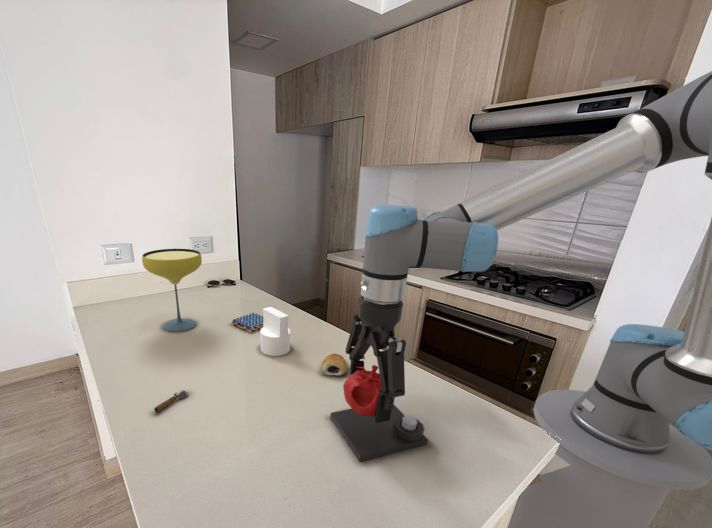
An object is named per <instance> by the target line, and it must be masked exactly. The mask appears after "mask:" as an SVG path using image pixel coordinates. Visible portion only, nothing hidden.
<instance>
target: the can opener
mask: <svg viewBox="0 0 712 528" xmlns="http://www.w3.org/2000/svg"><path fill="white" fill-rule="evenodd" d="M188 394H189V391H187V392H186V391H185V390H183V389H182V390H181V391H180V393H178V392H175V393H174V394H173V396H172V397H169V398H168V399H167V400H165V401H163V402H162V403H159V404H158V405H157V406H155V407H154V412H155V413H158V412H160V411H161V410H164V409H165V408H166V407H167V406H169V405H171V403H173V402H175V401H176V400H177V399H183V398H185V397H187V396H188Z"/></svg>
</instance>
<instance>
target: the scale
mask: <svg viewBox="0 0 712 528" xmlns="http://www.w3.org/2000/svg"><path fill="white" fill-rule="evenodd" d="M404 416H406V415H405V414H404V413H403V412H402V411H401V410H400V409H399V408H398V407H397V406H396V405H395V404H394V406H393V409H391V415H390V420H389V421H384V422H380V423H377V422H376V421H375V416H362V415H360V414H358V413H356V412H355V411H353V409H352V408H348V409H342V410H338V411H332V412H330V416H329V418H330V420H331V422H332V424H334V426H335V427H336V429H337V430H338V432H339V434H340V435H341V436H342V438H343V440H344V441H345V442H346V444H347V446H348V447H349V449H350V450H351V452H352V453H353V454H354V456H355V457H356V459H357V460H358V462H359V463H361V462H364V461H365V462H366V461H369V460H371V459H377V458H380V457H383V456H387V455H391V454H396V453H398V452H403V451H406V450H411V449H414V448H418V447H422V446H425V445H427V444H428V440H429V439H428V437H427V436H426V435H425V434H424V433H425V426H424V424H423V423H422V422H421V421H420V420H419V419H417V418H415V419H416V420H417V426H416V429H415V430H414V431H409V430H406V429H404V428H403V427H402V425H401V424H402V419H403V417H404Z"/></svg>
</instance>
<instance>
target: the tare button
mask: <svg viewBox="0 0 712 528" xmlns="http://www.w3.org/2000/svg"><path fill="white" fill-rule="evenodd" d="M416 419H417V418H415V417H414V416H411V415H405V416H404V417H403V419H402V424H401V425H402V427H403V428H404V429H406V430H409V431H414V430H415V429H416V426H417V420H418V419H417V420H416Z"/></svg>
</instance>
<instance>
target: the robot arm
mask: <svg viewBox="0 0 712 528" xmlns="http://www.w3.org/2000/svg"><path fill="white" fill-rule="evenodd" d="M701 157H707V160H706V165H705V169H704V176H706V177H707V178H708V179H710V180H711V181H712V70H711V71H709V72H707V73H705V74H703V75H701V76H699V77H697V78H695V79H693V80H692V81H690V82H688V83H686V84H683V85H681V86H680V87H678V88H677V89H675V90H672V91H671V92H669V93H667V94H665V95H663V96H662V97H660V98H658V99H656V100H654V101H652V102H650V103H649V104H647V105H644V106H643V107H641V108H639V109H637V110H635V111H633V112H631V113H629V114H626V115H625V116H624V117H622V118H621V119H620V120H619V121H618V123H617V125H616V127H615V128H613V129H611V130H608V131H606V132H604V133H603V134H600V135H598V136H596V137H593V138H592V139H589V140H587V141H586V142H584V143H581V144H579V145H578V146H575V147H573V148H571V149H569V150H567V151H565V152H563V153H561V154H559V155H557V156H554V157H552V158H551V159H548V160H547V161H546V160H545V161H544V162H542V163H540V164H538V165H536V166H534V167H532V168H529V169H527V170H526V171H523V172H521V173H519V174H517V175H515V176H513V177H510V178H508V179H507V180H504V181H503V182H501V183H499V184H498V183H497V184H496V185H494V186H492V187H490V188H488V189H486V190H484V191H482V192H480V193H478V194H475V195H474V196H471V197H469V198H467V199H465V200H463V201H461V202H459V203H457V204H455V205H452V206H451V207H449V208H447V209H445V210H443V211H436V212H433V213H430V214H428V215H426V216H424V217H423V218H422V219H419V218H418V210H417V208H416V207H414V206H409V205H398V204H397V205H395V204H394V205H393V204H380V205H374V206H373V207H372V208H371V209H370V210H369V213H368V219H367V223H366V224H367V225H366V229H365V239H364V248H363V249H364V250H363V259H362V271H361V273H362V274H361V281H360V282H359V283H360V290H359V293H360V295H361V296H360V297H359V299H358V306H357V307H358V308H357V313H353V316H352V325H351V329H350V332H349V336H348V339H347V343H346V345H345V346H346V347H345V353H346V355H349V356H348V358H349V361H350V366H349V376H350V375H352V374H353V373H354V372H355V371H357V370H363V368H357V367H364V368H365V361H364V360H365V359H366V357H365V355H366V354H367V352H368V351H369V349H370V347H371V348H372V351H373V355H374V357H376V362H377V366H378V372H379V373H380V379H381V385H382V391H379V395H378V402H377V409H376V416H375V421H376V422H377V423H380V422H384V421H389V420H390V415H391V409H393V406H394V405H395V400H396V398H398V397H403V396H405V395H406V378H405V373H406V372H405V350H406V346H407V342H406V340H405V339H398V338H397V337H396V335H395V333H396V332H395V327H396V326H397V324H398V323H400V322H401V319H402V312H403V307H404V302H403V300H404V299H405V297H406V289H407V282H408V274H409V269H410V268H420V269H432V270H445V271H456V272H462V273H467V272H478V273H479V272H485V271H487V270H488V269H489V268H490V267H491V266H492V264H493V263H494V260H495V258H496V255H497V252H498V246H499V233H498V231H499V230H501V229H504V228H506V227H508V226H511V225H512V224H515V223H517V222H520V221H522V220H524V219H526V218H529V217H531V216H534V215H536V214H538V213H541V212H543V211H545V210H547V209H549V208H552V207H554V206H556V205H559V204H561V203H564V202H566V201H568V200H570V199H572V198H575V197H577V196H580V195H582V194H584V193H586V192H589V191H591V190H594V189H595V188H598V187H600V186H603V185H605V184H608V183H610V182H612V181H614V180H616V179H619V178H621V177H624V176H626V175H628V174H630V173H633V172H636V173H642V174H645V173H649V172H651V171H654V170H655V169H658V168H660V167H663V166H665V165H668V164H672V163H676V162H678V161H679V162H680V161H684V160H688V159H695V158H701ZM708 226H709V227H708V230H707V234H706V238H705V243H704V246H703V247H704V248H703V252H702V257H701V260H700V264H699V268H698V272H697V276H696V282H695V286H694V290H693V294H692V298H691V303H690V307H689V311H688V316H687V320H686V324H685V328H684V331H683V330H678V329H673V328H670V327H669V328H667V327H663V326H656V325H648V324H638V323H630V324H629V323H628V324H627V323H626V324H623V325H621V326H619V327H617V329H615V331H614V334H613V335H612V337H611V338H610V340H609V345H608V347H607V350H606V351H605V354H604V356H603V359H602V362H601V365H600V367H599V369H598V372H597V375H596V377H595V379H594V382H593V383H592V386H590V388H589V389H587V390H586V391H584V392H585V393H584V394H583V395H582V396H581V397H580V398H579V399H578V400H577V401H576V402H575V403H574V404H573V406H572V409H571V411H570V415H571V418H572V419H573V421H574V422H575V423H576V424H577V425H578V426H579V427H580V428H581V429H583V430H584V431H585V432H587V433H588V434H590V435H592V436H593V437H595V438H597V439H599V440H601V441H603V442H605V443H607V444H609V445H612V446H614V447H617V448H620V449H623V450H626V451H630V452H634V453H640V454H650V455H652V454H659V453H662V452H663V451H664V450H665V449H666V447H667V445H668V444H669V441H670V431H669V423H670V424H671V425H673V426H674V427H675V428H676V429H677V430H678V431H679V432H680V433H681V434H683V435H685V436H687V437H689V438H690V439H692V440H693V441H694V442H696V443H697V444H699V445H700V446H702V447H704V448H705V449H706V450H709V451H712V216H711V218H710V222H709V225H708ZM384 349H385V350H384ZM388 386H389V387H388Z"/></svg>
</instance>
